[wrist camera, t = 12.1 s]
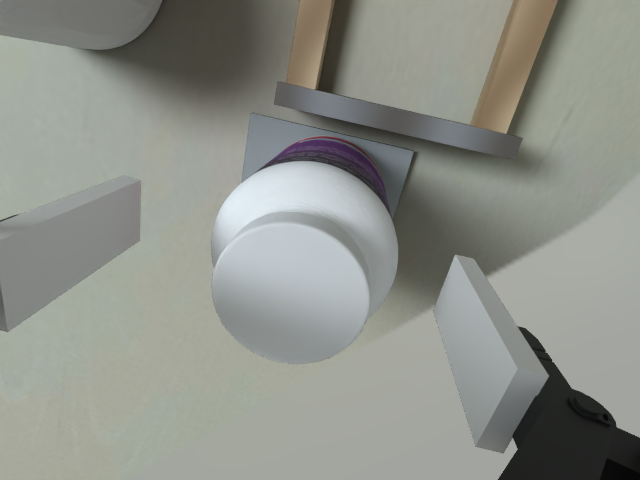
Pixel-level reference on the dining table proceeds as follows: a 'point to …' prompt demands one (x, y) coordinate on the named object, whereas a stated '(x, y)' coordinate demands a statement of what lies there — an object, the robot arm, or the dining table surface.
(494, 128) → the wooden bottle holder
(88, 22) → the mug
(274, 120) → the mat
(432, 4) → the dining table surface
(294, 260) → the pill bottle
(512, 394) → the robot arm
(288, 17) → the dining table surface
